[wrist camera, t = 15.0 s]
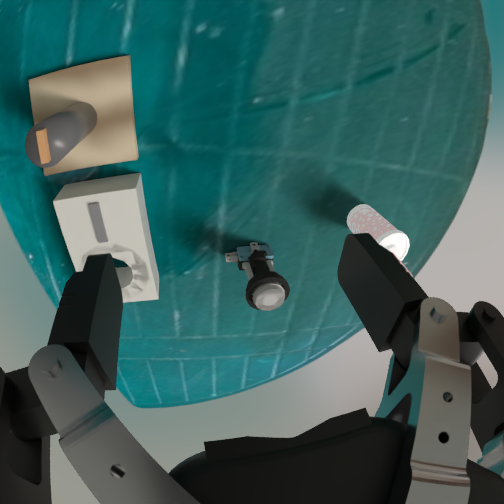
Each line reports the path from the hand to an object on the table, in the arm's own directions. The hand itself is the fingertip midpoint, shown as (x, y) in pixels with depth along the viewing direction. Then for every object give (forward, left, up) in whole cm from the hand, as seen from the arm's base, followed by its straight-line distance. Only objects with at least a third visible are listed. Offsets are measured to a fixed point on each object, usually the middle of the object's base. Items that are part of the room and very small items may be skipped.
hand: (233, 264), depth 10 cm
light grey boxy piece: (+14, -12, -27) cm, 33 cm away
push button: (+19, +6, -27) cm, 34 cm away
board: (-2, -13, -27) cm, 30 cm away
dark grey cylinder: (-1, -13, -26) cm, 29 cm away
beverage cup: (+15, +23, -27) cm, 39 cm away
